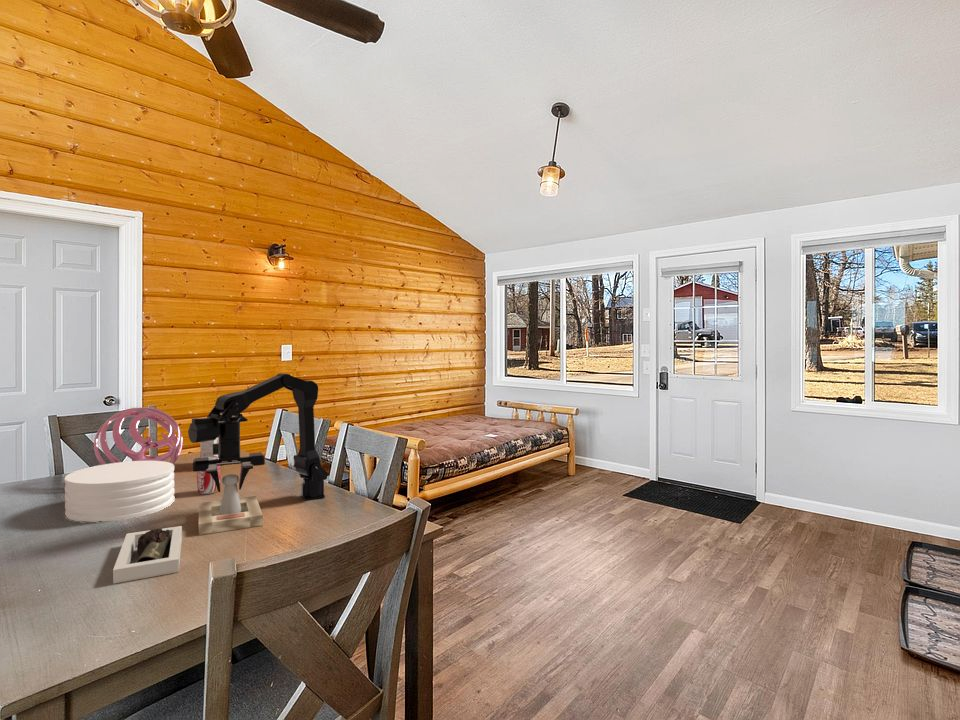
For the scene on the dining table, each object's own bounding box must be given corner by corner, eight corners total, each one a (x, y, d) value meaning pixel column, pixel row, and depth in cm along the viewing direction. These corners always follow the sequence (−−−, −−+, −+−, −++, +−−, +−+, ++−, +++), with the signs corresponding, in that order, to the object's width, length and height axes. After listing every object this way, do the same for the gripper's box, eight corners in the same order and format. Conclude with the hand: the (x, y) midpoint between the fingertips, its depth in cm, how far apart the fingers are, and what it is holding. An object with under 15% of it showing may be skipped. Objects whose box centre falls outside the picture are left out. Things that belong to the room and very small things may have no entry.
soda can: (192, 493, 174) (192, 458, 173) (210, 488, 180) (210, 454, 180) (207, 496, 171) (207, 461, 171) (225, 490, 178) (224, 456, 177)
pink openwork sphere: (85, 423, 195) (112, 388, 183) (165, 432, 216) (194, 400, 203) (78, 493, 181) (107, 459, 169) (164, 495, 202) (195, 465, 189)
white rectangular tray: (182, 536, 136) (181, 525, 136) (178, 572, 116) (178, 559, 116) (126, 545, 130) (126, 533, 130) (113, 583, 110) (113, 570, 110)
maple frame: (255, 505, 163) (255, 495, 162) (262, 525, 145) (262, 514, 145) (198, 512, 155) (198, 502, 155) (198, 535, 137) (198, 523, 137)
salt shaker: (219, 523, 146) (219, 478, 146) (219, 517, 151) (219, 474, 151) (241, 520, 149) (241, 476, 148) (241, 514, 154) (240, 472, 153)
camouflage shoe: (159, 573, 116) (159, 549, 115) (124, 578, 113) (123, 553, 113) (174, 543, 132) (174, 522, 132) (144, 547, 130) (143, 525, 129)
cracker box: (214, 469, 205) (214, 418, 204) (199, 469, 205) (199, 418, 204) (231, 461, 219) (230, 413, 218) (216, 461, 219) (216, 413, 218)
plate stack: (186, 507, 160) (186, 471, 160) (74, 530, 140) (74, 489, 139) (160, 488, 179) (159, 456, 179) (57, 507, 159) (57, 470, 158)
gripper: (261, 431, 161) (261, 479, 161) (193, 435, 152) (193, 487, 152) (264, 437, 151) (265, 489, 151) (192, 442, 142) (193, 497, 143)
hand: (229, 490), depth 150 cm, fingers open, 5 cm apart
